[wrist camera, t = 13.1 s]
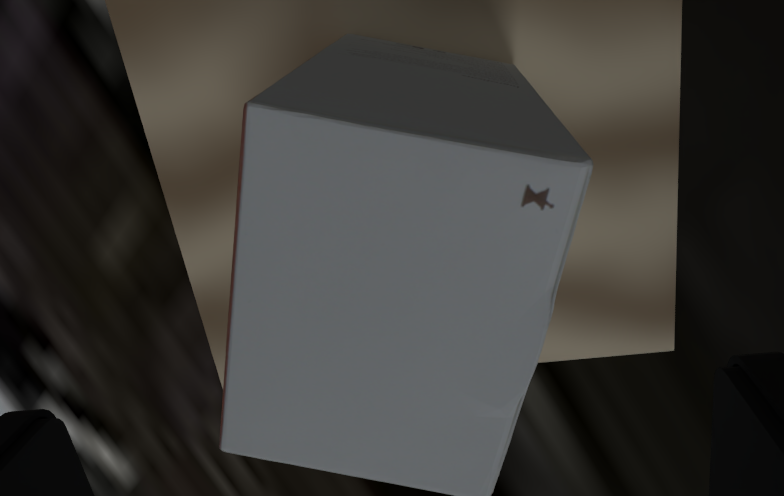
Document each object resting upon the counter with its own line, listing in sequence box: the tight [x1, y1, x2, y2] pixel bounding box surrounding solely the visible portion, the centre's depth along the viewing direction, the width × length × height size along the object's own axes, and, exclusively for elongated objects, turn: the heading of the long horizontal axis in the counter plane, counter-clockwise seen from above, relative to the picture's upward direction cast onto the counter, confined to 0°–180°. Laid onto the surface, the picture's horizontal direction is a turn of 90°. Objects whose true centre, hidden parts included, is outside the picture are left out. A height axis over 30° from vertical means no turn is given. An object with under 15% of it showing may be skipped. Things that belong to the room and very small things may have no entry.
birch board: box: [105, 0, 682, 388], centre depth 25 cm, size 20×20×2 cm
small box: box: [219, 34, 593, 496], centre depth 18 cm, size 8×6×13 cm
